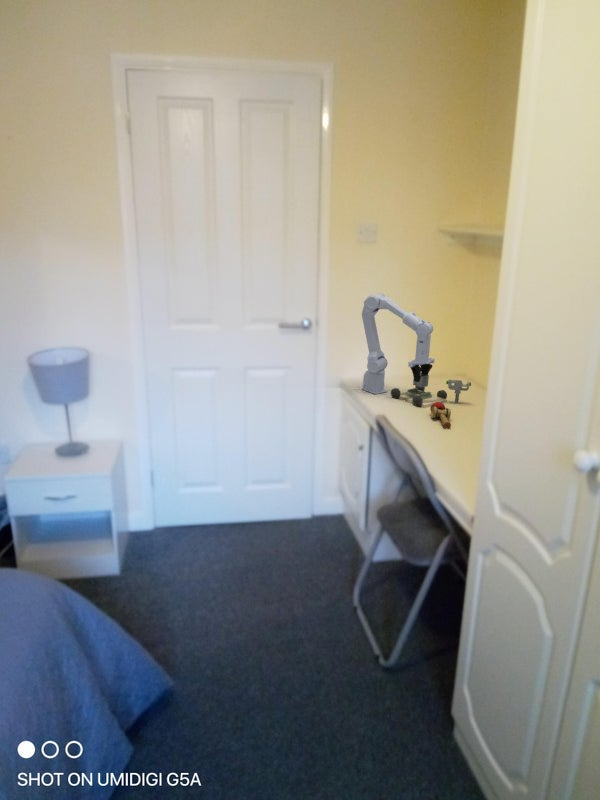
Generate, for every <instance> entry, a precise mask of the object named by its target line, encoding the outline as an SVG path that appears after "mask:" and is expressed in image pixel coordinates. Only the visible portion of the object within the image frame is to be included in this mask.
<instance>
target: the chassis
mask: <svg viewBox="0 0 600 800" xmlns="http://www.w3.org/2000/svg"><path fill="white" fill-rule="evenodd" d="M425 390H426V387H422V388H421V387H418V386H415V385H414V387H413V388H409V389H405V390H400V389H399V388H398V387H397V388H396V387H395V388H392V389H391V390H390V396H391V397H392V398H393V399H399V400H401V399H402V401H404V400H405V401H404V402H407V401H408V403H410V402H411V403H410V404H413V406H414V407H422V408H423V409H425V408H429V407H430V408H431V405H432V404H433V403H435V402H441V403H443V404H445V402H446V403H447V402H448V401H447V398H448V393H447V391H446V390H444V389H441V390H438V391H437V392H436V395H433V394H432V393H431V392H430V391H428V392H426V391H425Z"/></svg>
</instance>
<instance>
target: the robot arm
mask: <svg viewBox="0 0 600 800" xmlns="http://www.w3.org/2000/svg"><path fill="white" fill-rule="evenodd" d="M379 310H388V311H389V312H391V313H392V314H393V315H396V316H397V317H398V318H400V319H401V320H402V324H404V325H406V326H407V327H408V328H410V329H411V330H412V331H414V332H415V334H416V336H417V337H416V344H415V347H416V348H415V359H413V360H411V361H409V362H408V364H407V366H408V367H409V368H410V370H411V372H412V376H413V379H414V381H415V382H419V378H420V373H423V374H427V375H429V374H430V373H429V372H430V371H431V370H432V368H433V364H434V363H435V358H432V357H430V351H431V350H430V349H431V334H432V333H433V331H434V326H433V324H431V322H429V321H425V319H424V318H423V319H422V318H420V317H419V316H418V315H417V313H416V312H414V311H413V312H412V311H409V312H407V311H406V310H404V308H402V307H401V306H399V305H398V304H397V303H396V302H394V301H393V300H391V298H390V297H388V296H386V295H385V294H384V293H379V292H378V293H376V294H373V295H371V294H370V295H368V296H367V297H366V298H365V299H364V301H363V307H362V312H361V318H362V323H363V329H364V334H365V338H366V342H367V343H366V344H367V348H368V355H367V365H366V369H367V370H366V371H365V372H364V374H363V378H362V380H363V383H362V387H361V390H363V391H366V392H369V393H371V394H373V395H377V394H378V395H379V394H383V393H387V392H388V390H387V389H384V388H385V375H386V371H385V369H387V366H388V360H387V358H386V356H385V353H384V351H382V349H381V344H380V339H379V334H378V333H379V332H378V329H377V323H376V319H375V316H376V314H377V313H378V312H379Z"/></svg>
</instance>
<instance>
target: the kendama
mask: <svg viewBox="0 0 600 800" xmlns="http://www.w3.org/2000/svg"><path fill="white" fill-rule="evenodd" d="M451 415H452V409H451V408H450V407H446V406H445V403H441V402H435V403H433V404H432V405H431V406H430V416H431V418H437V417H438V418H439V419H440V421H441V424H442V426H443V428H444V429H445V428H448V429H450V428H451V427H452V424H451V422H450V421H449V420H450V419H451Z"/></svg>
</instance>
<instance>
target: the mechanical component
mask: <svg viewBox="0 0 600 800" xmlns="http://www.w3.org/2000/svg"><path fill="white" fill-rule="evenodd" d="M445 382H446V383H445V385H447V387H448V389H449V390H451V391H453V390H454V394H455V397H454V404H456V403H458V404H459V401H460V395H461V391H463V392H464V391H465V392H467V391H468V390H469V388H470V387H471V386H472V382H471V381H467V383H466V384H464V383H463V381H462V380H459V379H448V380H446V381H445ZM463 387H464V388H463ZM465 387H466V388H465Z"/></svg>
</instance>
